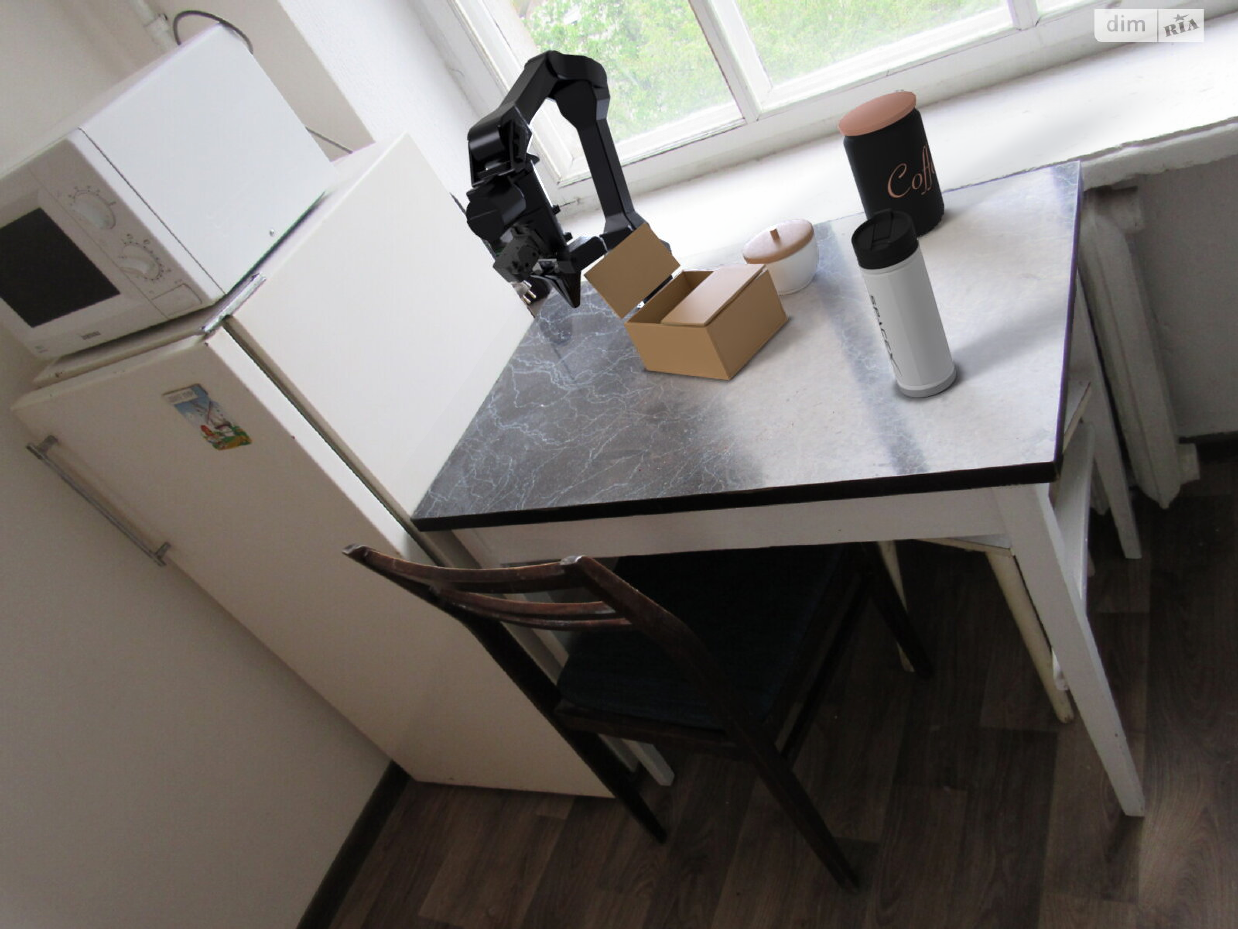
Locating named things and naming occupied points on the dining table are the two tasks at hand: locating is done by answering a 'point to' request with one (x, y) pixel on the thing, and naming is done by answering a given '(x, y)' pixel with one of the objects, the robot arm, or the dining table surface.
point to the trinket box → (786, 254)
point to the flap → (632, 270)
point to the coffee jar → (893, 159)
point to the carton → (695, 297)
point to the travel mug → (904, 303)
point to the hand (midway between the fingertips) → (576, 306)
